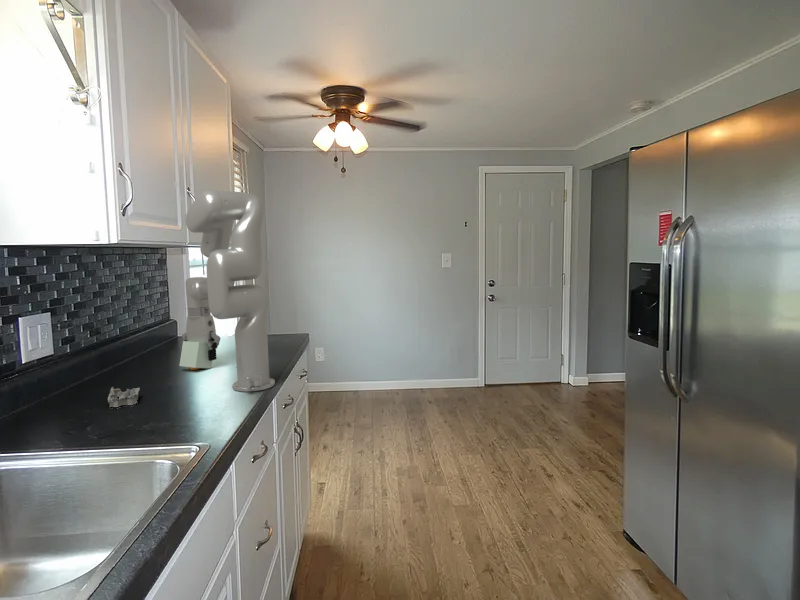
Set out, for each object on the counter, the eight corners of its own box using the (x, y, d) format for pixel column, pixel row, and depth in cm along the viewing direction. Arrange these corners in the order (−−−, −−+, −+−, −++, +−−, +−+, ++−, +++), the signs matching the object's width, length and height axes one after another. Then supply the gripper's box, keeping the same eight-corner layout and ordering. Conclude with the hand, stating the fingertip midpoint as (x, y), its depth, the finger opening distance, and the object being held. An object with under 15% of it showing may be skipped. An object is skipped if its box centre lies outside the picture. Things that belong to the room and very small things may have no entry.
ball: (204, 356, 174) (202, 371, 173) (201, 356, 178) (199, 370, 177) (189, 355, 171) (187, 369, 170) (186, 355, 175) (184, 369, 174)
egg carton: (112, 400, 143) (111, 386, 142) (141, 396, 145) (140, 383, 145) (106, 411, 133) (104, 396, 132) (137, 407, 136) (136, 392, 135)
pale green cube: (195, 367, 169) (199, 342, 171) (179, 366, 172) (183, 341, 174) (211, 368, 176) (214, 343, 177) (195, 366, 179) (199, 342, 180)
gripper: (225, 311, 175) (228, 358, 177) (189, 309, 182) (192, 355, 183) (209, 314, 168) (212, 363, 170) (172, 312, 175) (176, 359, 177)
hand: (202, 359), depth 177 cm, fingers open, 9 cm apart
